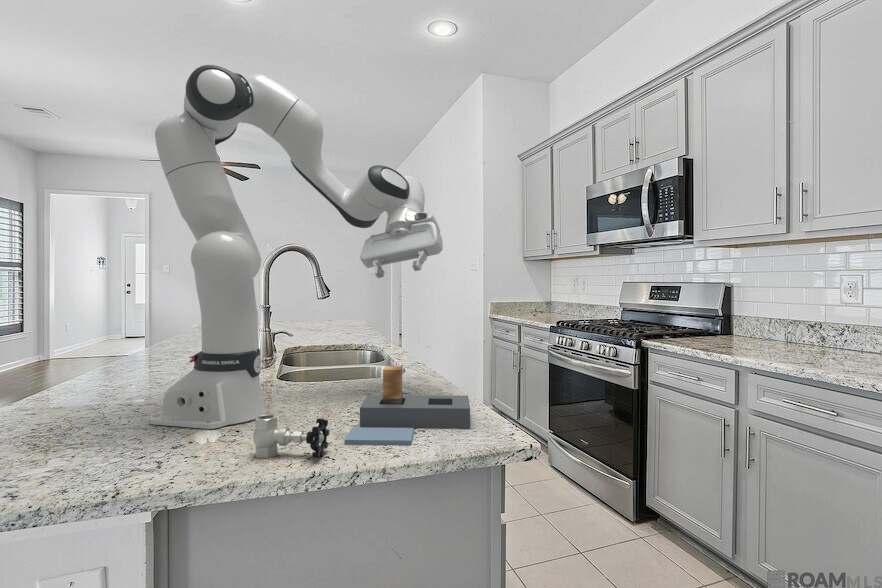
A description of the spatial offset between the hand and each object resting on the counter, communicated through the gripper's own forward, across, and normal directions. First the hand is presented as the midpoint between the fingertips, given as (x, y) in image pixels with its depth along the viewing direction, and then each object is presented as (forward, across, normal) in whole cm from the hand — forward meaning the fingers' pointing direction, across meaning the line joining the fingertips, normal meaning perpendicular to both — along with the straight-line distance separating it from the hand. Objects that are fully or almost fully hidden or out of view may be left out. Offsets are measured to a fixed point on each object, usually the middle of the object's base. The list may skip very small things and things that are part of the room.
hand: (397, 272), depth 109 cm
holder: (+30, +2, +13) cm, 33 cm away
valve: (+44, -11, -8) cm, 46 cm away
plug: (+31, -2, +11) cm, 33 cm away
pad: (+38, 0, +3) cm, 38 cm away
